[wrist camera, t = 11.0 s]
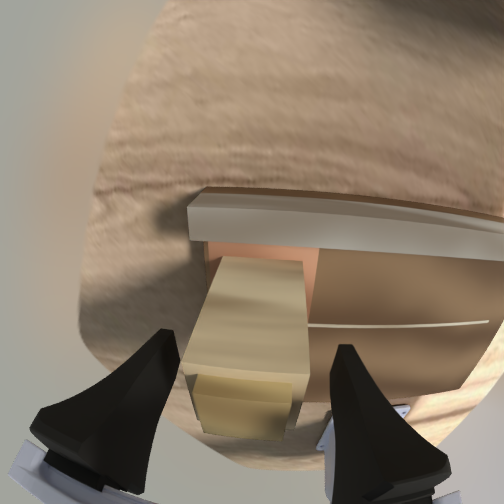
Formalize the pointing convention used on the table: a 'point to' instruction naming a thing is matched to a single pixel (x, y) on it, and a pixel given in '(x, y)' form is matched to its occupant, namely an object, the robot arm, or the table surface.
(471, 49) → the table surface
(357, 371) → the robot arm
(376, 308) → the board
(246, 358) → the tan block
